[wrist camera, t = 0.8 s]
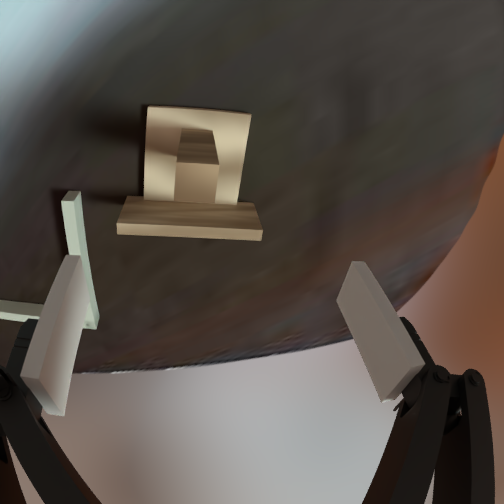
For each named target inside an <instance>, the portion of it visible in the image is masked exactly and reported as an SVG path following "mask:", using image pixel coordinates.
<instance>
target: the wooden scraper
mask: <svg viewBox="0 0 504 504" xmlns="http://www.w3.org/2000/svg"><path fill="white" fill-rule="evenodd" d="M250 120H251V114H250V113H243V112H234V111H225V110H214V109H203V108H189V107H172V106H148V111H147V125H146V143H145V168H144V197H143V196H127V198H126V200H125V203H124V206H123V208H122V211H121V213H120V216H119V219H118V221H117V234H126V235H150V236H173V237H196V238H217V239H237V240H257V241H261V238H262V233H263V229H262V226H261V223H260V220H259V217H258V215H257V212H256V209H255V206H254V204H253V203H249V202H237V199H238V193H239V186H240V180H241V174H242V168H243V162H244V156H245V149H246V143H247V137H248V132H249V126H250Z"/></svg>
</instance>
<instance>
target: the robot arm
mask: <svg viewBox="0 0 504 504" xmlns="http://www.w3.org/2000/svg"><path fill="white" fill-rule="evenodd" d="M336 301H337V304H338V306H339V308H340V310H341V312H342V314H343V316H344V319H345V321H346V323H347V325H348V327H349V329H350V332H351V334H352V336H353V338H354V340H355V343H356V344H357V347H358V349H359V352H360V354H361V356H362V358H363V361H364V363H365V365H366V367H367V369H368V372H369V374H370V376H371V379H372V381H373V384H374V386H375V388H376V391H377V393H378V396H379V398H380V400H381V402H387V401H391V400H395V399H396V398H397V397H398V396H399V394H400V393H401V392H402V394H403V397H404V398H403V399H402V400H401V401H400V403H399V404H398V405H397V406H396V407H395V408H394V410H393V411H396V410H397V409H398V408H399V410H398V413H397V416H396V419H395V422H394V425H393V428H392V431H391V434H390V437H389V440H388V442H387V445H386V448H385V450H384V453H383V456H382V458H381V461H380V464H379V466H378V468H377V471H376V473H375V476H374V478H373V480H372V483H371V485H370V487H369V489H368V492H367V494H366V496H365V498H364V500H363V502H362V504H424V502H425V499H426V496H427V493H428V490H429V487H430V483H431V480H432V477H433V473H434V469H435V474H434V475H435V476H434V490H433V501H432V504H495V478H494V455H493V442H492V431H491V422H490V414H489V407H488V400H487V394H486V388H485V382H484V379H483V377H482V375H481V374H480V373H479V372H478V371H477V370H474V369H468V370H466V371H465V372H464V373H463V375H454V374H450V373H449V372H448V370H447V369H446V368H444V367H442V366H439V365H435V363H434V361H433V360H432V358H431V356H430V354H429V353H428V351H427V349H426V347H425V346H424V344H423V342H422V341H421V339H420V337H419V335H418V334H417V332H416V330H415V328H414V327H413V326H412V324H411V323H410V322H409V321H408V320H407V319H406V318H405V317H398V315H397V313H396V311H395V310H394V308H393V306H392V305H391V303H390V301H389V300H388V298H387V296H386V295H385V293H384V292H383V290H382V288H381V287H380V285H379V284H378V282H377V280H376V279H375V277H374V276H373V274H372V272H371V271H370V269H369V268H368V266H367V265H366V263H365V262H358V261H352V262H351V265H350V268H349V270H348V273H347V275H346V278H345V280H344V283H343V285H342V288H341V290H340V293H339V295H338V298H337V300H336ZM89 302H90V296H89V291H88V287H87V283H86V279H85V274H84V270H83V265H82V260H81V255H66V256H65V258H64V260H63V262H62V264H61V267H60V269H59V271H58V273H57V276H56V278H55V280H54V283H53V285H52V287H51V290H50V292H49V294H48V297H47V299H46V302H45V304H44V307H43V309H42V312H41V315H40V317H39V319H31V318H28V319H27V320H26V321H25V322H24V324H23V325H22V326H21V327H20V330H19V332H18V335H17V339H16V340H15V343H14V347H13V349H12V352H11V354H10V357H9V360H8V363H7V366H6V368H5V367H3V366H1V365H0V504H26V501H25V498H24V496H23V493H22V490H21V487H20V484H19V481H18V478H17V474H16V471H15V468H14V465H13V461H12V457H11V454H10V450H9V446H8V442H7V438H8V440H9V442H10V444H11V446H12V448H13V450H14V452H15V454H16V456H17V458H18V460H19V462H20V464H21V465H22V467H23V469H24V470H25V472H26V474H27V476H28V478H29V479H30V481H31V482H32V484H33V486H34V488H35V489H36V491H37V492H38V494H39V496H40V497H41V499H42V500H43V502H44V503H45V504H102V503H101V502H100V501H99V500H98V498H97V497H96V496H95V495H94V494H93V492H92V491H91V489H90V488H89V487H88V486H87V484H86V483H85V482H84V480H83V479H82V478H81V476H80V475H79V474H78V472H77V471H76V469H75V468H74V467H73V465H72V464H71V462H70V461H69V459H68V458H67V456H66V455H65V453H64V452H63V450H62V449H61V447H60V446H59V444H58V443H57V441H56V439H55V438H54V436H53V435H52V433H51V431H50V430H49V428H48V426H47V424H46V423H45V421H44V419H43V418H42V417H41V412H42V407H43V408H44V410H45V411H46V412H47V414H52V415H58V416H64V414H65V408H66V402H67V397H68V391H69V386H70V381H71V376H72V371H73V366H74V361H75V357H76V353H77V348H78V344H79V340H80V336H81V332H82V328H83V324H84V320H85V316H86V313H87V309H88V306H89ZM460 410H461V414H462V415H461V414H460ZM6 436H7V438H6Z"/></svg>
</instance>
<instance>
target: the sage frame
mask: <svg viewBox="0 0 504 504" xmlns="http://www.w3.org/2000/svg"><path fill="white" fill-rule="evenodd" d="M61 203H62V211H63V218H64V225H65V232H66V238H67V244H68V250H69V255H81V260H82V265H83V270H84V274H85V279H86V283H87V287H88V291H89V296H90V302H89V306H88V309H87V313H86V316H85V320H84V324H83V328H88V329H97V325H98V320H99V312H98V308H97V303H96V298H95V293H94V288H93V282H92V277H91V271H90V265H89V258H88V252H87V245H86V238H85V230H84V221H83V212H82V202H81V191H68V192H67V194H66V195H65V197H64V198H63V199H62V201H61ZM43 307H44V305H43V304H34V303H24V302H15V301H7V300H0V318H1V319H8V320H15V321H22V322H25V321H26V320H27V319H28V318H31V319H39V317H40V315H41V312H42V309H43Z"/></svg>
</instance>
